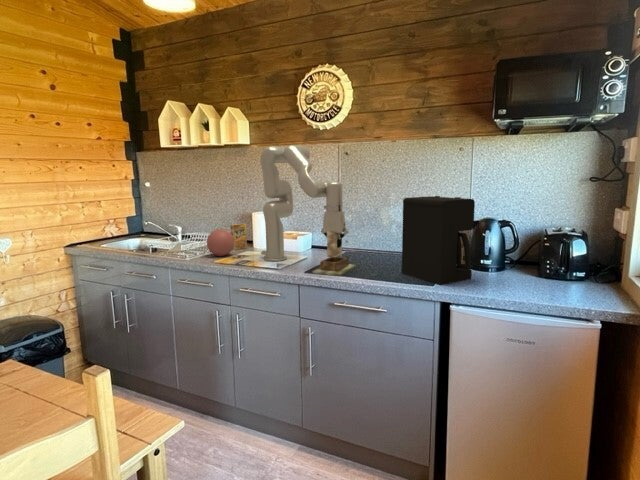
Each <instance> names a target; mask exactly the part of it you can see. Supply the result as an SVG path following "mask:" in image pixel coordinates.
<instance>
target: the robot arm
mask: <svg viewBox="0 0 640 480" xmlns="http://www.w3.org/2000/svg"><path fill="white" fill-rule="evenodd" d="M310 157H311V152H310V150H309V149H308V147H306V146H305V145H299V144H298V145H297V144H291V145H287V146H280V145H279V146H277V145H276V146H275V145H273V146H272V145H271V146H267V147H265V148H264V149H263V150H262V151H261V153H260V158H259V159H260V160H259V161H260V166H261V170H262V171H261V172H262V180H263V192H264V195H265V196H266V198H268V199H279V200H270V201H267V202H266V203H265V204H264V205H263V208H262V213H263V218H264V223H265V244H266V245H265V247H266V248H265V250H261V251H260V252H261V253H260V255H264V257H263V260H264V261H266V262H267V261H268V262H281V261H285V260H287V259H288V256H287V255H285V241H284V238H285V236H284V225H283V222H282V220H281V219H282V218H284V219H285V218H288V217H290V216H292V214H293V211H294V198H293V188H292V186H291V184H290V182H289V181H287V180H286V179H280V173H279V169H278V167H277V166H276V164H289V166H291V168H293V170H294V172H296V174H297V182H298V184H299V187H300V188H301V189H302V191H303V192H304V193H305V194H306V195H307V196H308V197H309V198H312V199H317V198H318V199H320V198H326V199H325V201H326V205H324V206H323V209H324V210H325V211H324V213H323V219H322V220H323V221H322V228H321V231H320V232H321V233H322V234H324V236H325V237H326V238H327V232H328V231H332V232H336V233H337V234H338V239H337V247H338V248H339V247H341V245H342V246H343V243H342V242H343V241H342V240H343V238H344V237H345V236H346V235H348V234H349V231H348V229H347V227H346V217H345V212H344V211H343V183H342V182H339V181H332V182H331V181H314V180H313V179H312V178H311V177H310V175H309V173H311V171H312V169H313V164H312V162H311V161H310Z"/></svg>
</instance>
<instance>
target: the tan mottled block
mask: <svg viewBox="0 0 640 480" xmlns="http://www.w3.org/2000/svg"><path fill="white" fill-rule="evenodd" d="M337 239H338V234H337V233H336V232H332V231H328V232H327V237H326V242H327V243H326V244H327V245H326V248H327V249H326V250H327V258H329V257H340V256H342V255H343V244H342V245H341V247H339V248H338V247H337Z"/></svg>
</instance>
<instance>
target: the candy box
mask: <svg viewBox="0 0 640 480" xmlns="http://www.w3.org/2000/svg"><path fill="white" fill-rule="evenodd" d="M230 233H231V234H232V235H233V237H234V241H235V244H234V248H233V250H234V251H235V250H242V249H248V242H247V241H248V239H247V238H248V237H247V224H246V223H236V224H235V223H233V224H230Z"/></svg>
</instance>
